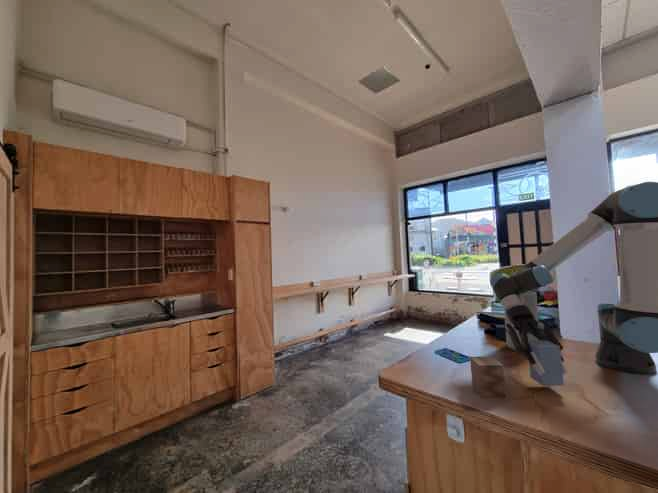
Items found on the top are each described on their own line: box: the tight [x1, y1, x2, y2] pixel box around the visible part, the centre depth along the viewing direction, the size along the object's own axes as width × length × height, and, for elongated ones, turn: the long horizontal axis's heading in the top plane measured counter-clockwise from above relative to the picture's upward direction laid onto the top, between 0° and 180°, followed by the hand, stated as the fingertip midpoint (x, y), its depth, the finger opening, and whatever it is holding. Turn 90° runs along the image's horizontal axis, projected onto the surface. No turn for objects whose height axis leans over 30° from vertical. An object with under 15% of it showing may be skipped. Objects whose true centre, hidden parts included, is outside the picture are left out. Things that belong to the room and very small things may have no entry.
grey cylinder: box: [503, 290, 540, 351], centre depth 123 cm, size 12×12×25 cm
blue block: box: [528, 340, 565, 387], centre depth 87 cm, size 6×6×12 cm
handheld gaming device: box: [434, 347, 471, 364], centre depth 118 cm, size 8×1×15 cm
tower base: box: [471, 372, 507, 399], centre depth 87 cm, size 7×7×5 cm
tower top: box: [469, 356, 505, 382], centre depth 87 cm, size 7×7×5 cm
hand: (553, 373), depth 83 cm, fingers closed on blue block, 6 cm apart
